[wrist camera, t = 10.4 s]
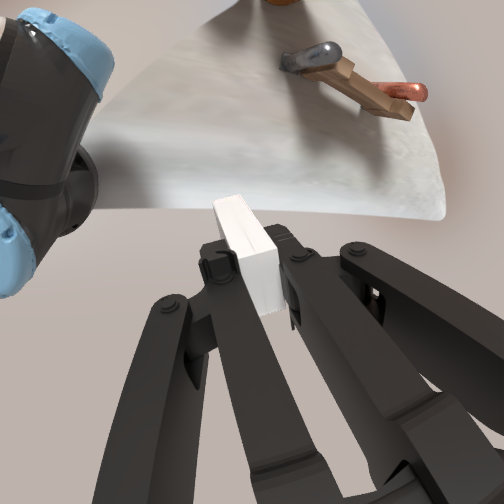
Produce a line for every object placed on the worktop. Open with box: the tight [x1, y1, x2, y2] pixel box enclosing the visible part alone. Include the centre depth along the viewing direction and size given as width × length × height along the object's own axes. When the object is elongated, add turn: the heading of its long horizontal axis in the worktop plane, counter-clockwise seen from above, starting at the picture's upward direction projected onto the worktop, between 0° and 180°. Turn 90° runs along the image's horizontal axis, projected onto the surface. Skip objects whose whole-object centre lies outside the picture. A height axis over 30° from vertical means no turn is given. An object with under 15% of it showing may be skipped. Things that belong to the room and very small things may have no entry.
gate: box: [301, 56, 415, 121], centre depth 36 cm, size 2×13×11 cm, turn 67°
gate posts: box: [279, 41, 428, 102], centre depth 34 cm, size 17×4×13 cm, turn 75°
